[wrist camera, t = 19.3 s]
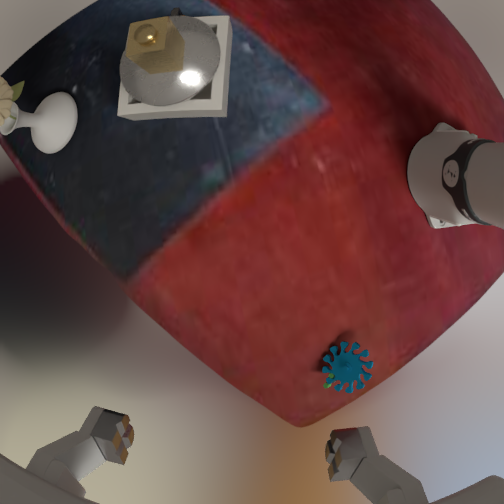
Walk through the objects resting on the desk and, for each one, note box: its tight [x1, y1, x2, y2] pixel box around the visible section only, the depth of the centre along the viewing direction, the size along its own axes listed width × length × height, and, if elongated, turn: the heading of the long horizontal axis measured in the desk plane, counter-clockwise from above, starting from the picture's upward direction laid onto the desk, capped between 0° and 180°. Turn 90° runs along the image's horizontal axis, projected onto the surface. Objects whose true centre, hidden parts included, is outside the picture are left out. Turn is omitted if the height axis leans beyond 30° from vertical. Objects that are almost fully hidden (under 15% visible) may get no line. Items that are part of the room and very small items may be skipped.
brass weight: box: [126, 16, 185, 74], centre depth 26 cm, size 4×4×9 cm
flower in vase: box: [0, 76, 78, 154], centre depth 28 cm, size 13×11×25 cm
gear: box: [322, 341, 373, 393], centre depth 50 cm, size 11×6×10 cm
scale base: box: [117, 16, 233, 120], centre depth 35 cm, size 15×15×6 cm
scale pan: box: [120, 8, 221, 107], centre depth 33 cm, size 14×16×6 cm
